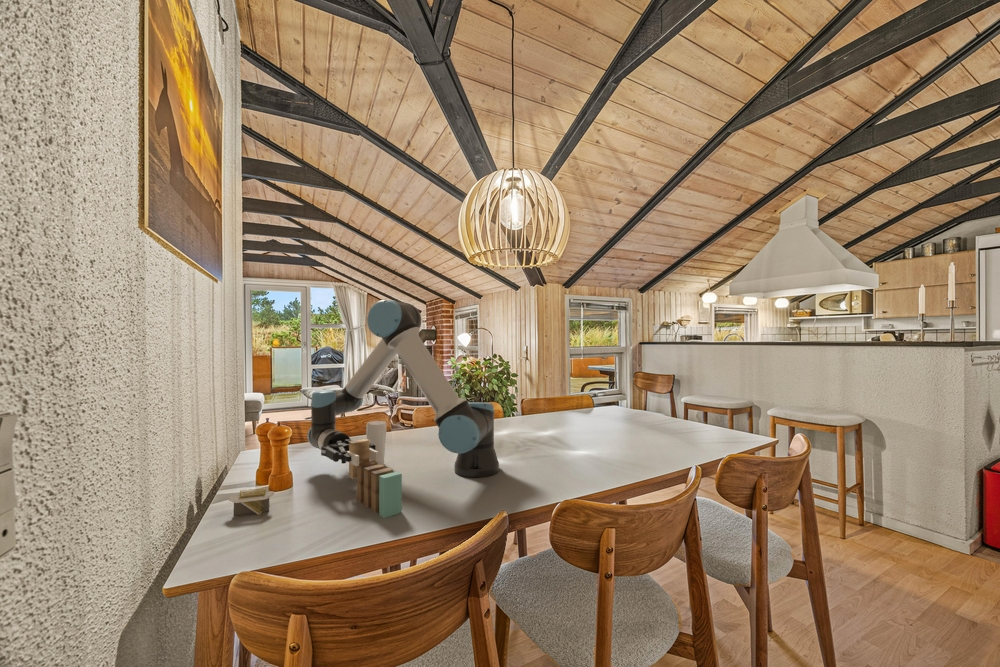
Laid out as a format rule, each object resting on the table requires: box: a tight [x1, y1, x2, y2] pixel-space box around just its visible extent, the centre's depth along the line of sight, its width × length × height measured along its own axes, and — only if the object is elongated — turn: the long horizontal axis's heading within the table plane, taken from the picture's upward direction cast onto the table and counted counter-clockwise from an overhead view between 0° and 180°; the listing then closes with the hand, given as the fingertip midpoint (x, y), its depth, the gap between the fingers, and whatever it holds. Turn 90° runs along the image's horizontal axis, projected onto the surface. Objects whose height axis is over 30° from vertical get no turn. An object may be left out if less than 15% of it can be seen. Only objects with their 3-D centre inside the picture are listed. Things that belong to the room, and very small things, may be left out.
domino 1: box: [348, 438, 369, 480], centre depth 117 cm, size 5×2×10 cm, turn 134°
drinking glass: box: [365, 420, 387, 465], centre depth 143 cm, size 7×7×15 cm
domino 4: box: [370, 467, 394, 513], centre depth 107 cm, size 5×2×10 cm, turn 134°
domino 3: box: [363, 464, 386, 508], centre depth 110 cm, size 5×2×10 cm, turn 134°
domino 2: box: [356, 461, 378, 504], centre depth 113 cm, size 5×2×10 cm, turn 134°
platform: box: [228, 487, 275, 516], centre depth 103 cm, size 12×18×7 cm, turn 110°
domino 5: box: [378, 471, 403, 519], centre depth 104 cm, size 5×2×10 cm, turn 134°
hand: (367, 458), depth 113 cm, fingers closed on domino 1, 5 cm apart
